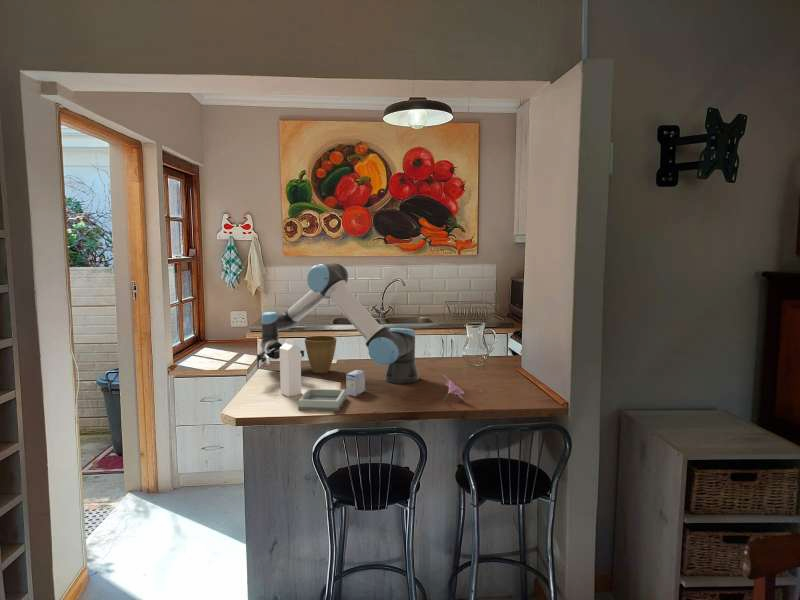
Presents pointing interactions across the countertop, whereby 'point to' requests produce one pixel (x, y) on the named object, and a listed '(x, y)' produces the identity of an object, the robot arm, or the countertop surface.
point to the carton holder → (322, 399)
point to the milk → (290, 369)
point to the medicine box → (355, 382)
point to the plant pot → (320, 352)
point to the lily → (453, 388)
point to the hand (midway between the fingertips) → (284, 359)
